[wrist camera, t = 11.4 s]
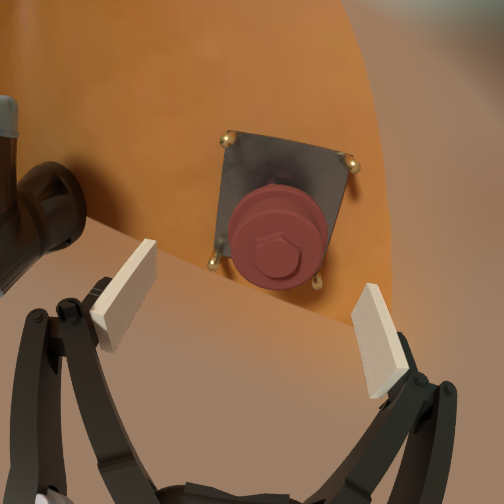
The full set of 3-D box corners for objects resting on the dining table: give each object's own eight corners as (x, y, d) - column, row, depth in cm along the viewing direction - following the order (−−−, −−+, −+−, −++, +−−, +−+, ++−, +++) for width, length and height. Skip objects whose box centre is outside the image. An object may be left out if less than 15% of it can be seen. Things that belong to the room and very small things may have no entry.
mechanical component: (335, 203, 33) (283, 256, 38) (272, 151, 31) (223, 212, 36) (358, 254, 23) (282, 320, 27) (267, 179, 20) (197, 264, 25)
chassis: (214, 252, 39) (206, 270, 35) (228, 130, 31) (220, 134, 27) (318, 271, 39) (321, 290, 35) (352, 155, 30) (362, 162, 27)
